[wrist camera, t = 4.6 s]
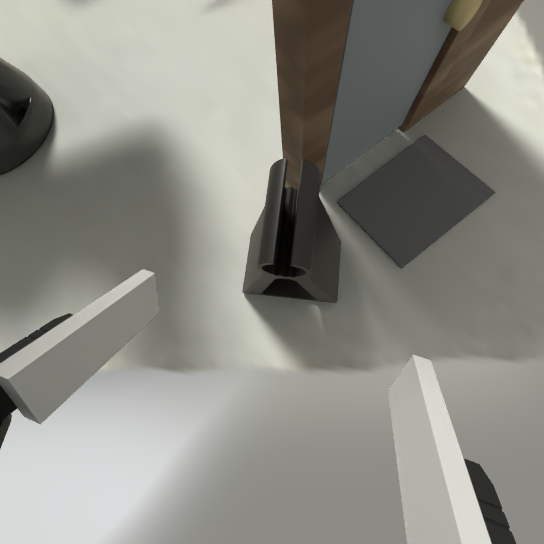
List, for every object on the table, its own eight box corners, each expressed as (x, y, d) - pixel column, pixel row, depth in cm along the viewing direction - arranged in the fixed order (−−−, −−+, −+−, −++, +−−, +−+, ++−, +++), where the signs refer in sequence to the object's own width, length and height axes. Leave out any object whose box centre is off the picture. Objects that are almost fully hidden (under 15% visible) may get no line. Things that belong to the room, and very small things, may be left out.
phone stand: (340, 243, 24) (381, 161, 13) (336, 303, 23) (378, 273, 11) (251, 235, 25) (215, 154, 14) (242, 292, 24) (193, 255, 12)
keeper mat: (337, 202, 25) (337, 201, 25) (423, 137, 26) (424, 134, 26) (401, 268, 23) (402, 267, 23) (492, 194, 24) (495, 192, 24)
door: (329, 193, 25) (476, -413, 5) (312, 176, 25) (378, -421, 5) (410, 131, 26) (831, -606, 5) (392, 116, 26) (710, -593, 6)
